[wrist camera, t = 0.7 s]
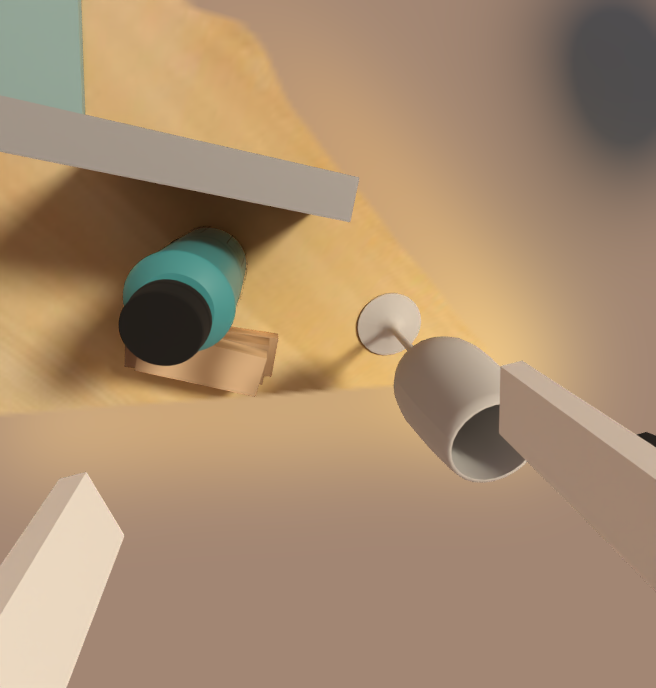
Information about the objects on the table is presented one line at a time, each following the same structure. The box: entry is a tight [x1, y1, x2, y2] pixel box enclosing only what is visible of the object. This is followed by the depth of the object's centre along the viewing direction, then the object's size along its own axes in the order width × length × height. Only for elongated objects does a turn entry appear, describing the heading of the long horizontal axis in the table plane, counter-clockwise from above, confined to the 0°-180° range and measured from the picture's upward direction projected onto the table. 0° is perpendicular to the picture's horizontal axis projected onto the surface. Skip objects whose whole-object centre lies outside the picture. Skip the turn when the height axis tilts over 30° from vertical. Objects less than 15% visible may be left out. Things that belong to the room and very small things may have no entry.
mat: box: [0, 0, 85, 115], centre depth 28 cm, size 11×11×1 cm
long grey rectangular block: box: [0, 95, 359, 222], centre depth 26 cm, size 18×2×15 cm, turn 79°
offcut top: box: [135, 339, 267, 397], centre depth 35 cm, size 11×4×2 cm, turn 71°
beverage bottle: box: [119, 226, 247, 366], centre depth 26 cm, size 6×7×20 cm
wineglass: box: [357, 293, 527, 482], centre depth 31 cm, size 8×8×21 cm
